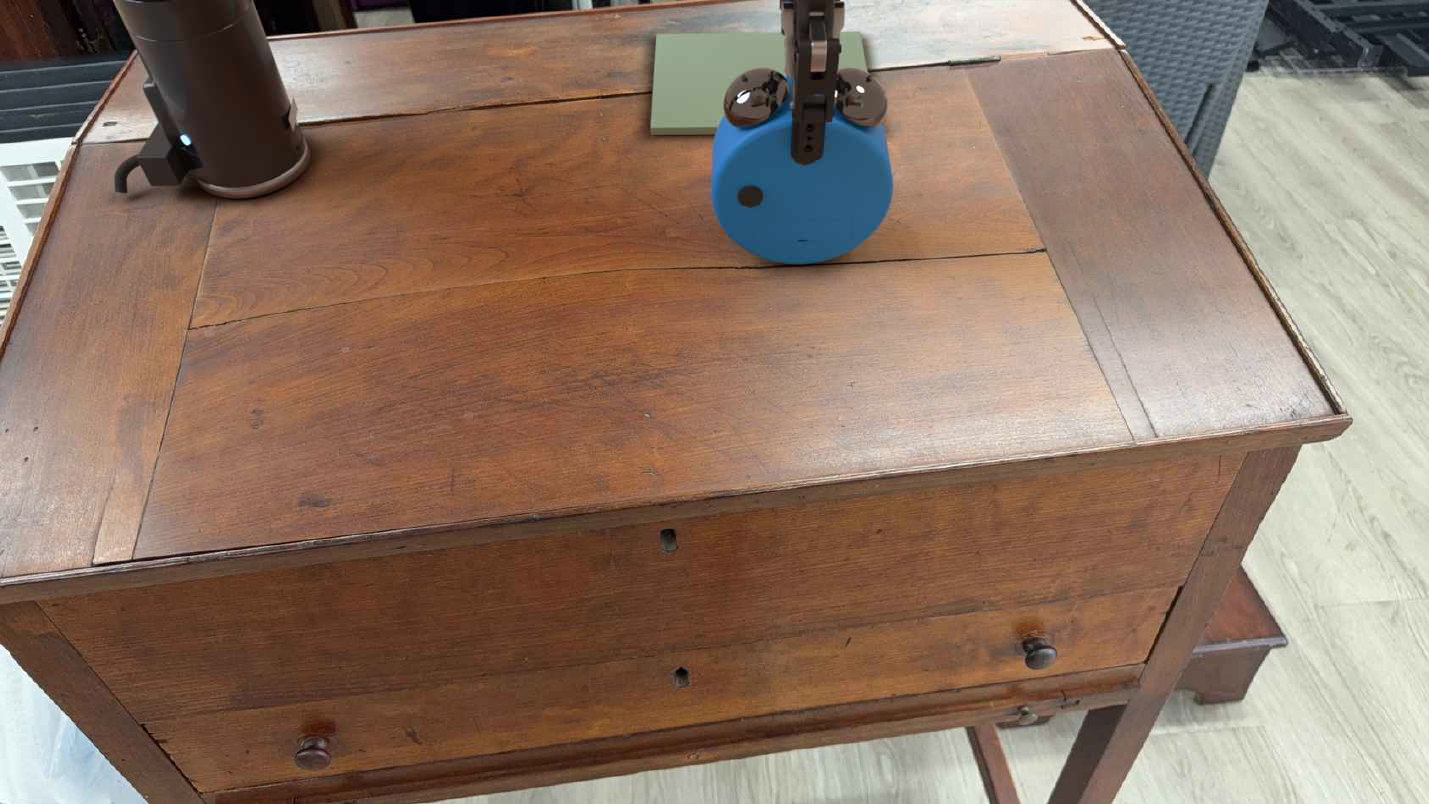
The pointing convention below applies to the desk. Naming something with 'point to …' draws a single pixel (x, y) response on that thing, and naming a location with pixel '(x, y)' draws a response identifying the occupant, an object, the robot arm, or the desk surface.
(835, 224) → the alarm clock
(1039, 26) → the desk surface
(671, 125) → the mat
